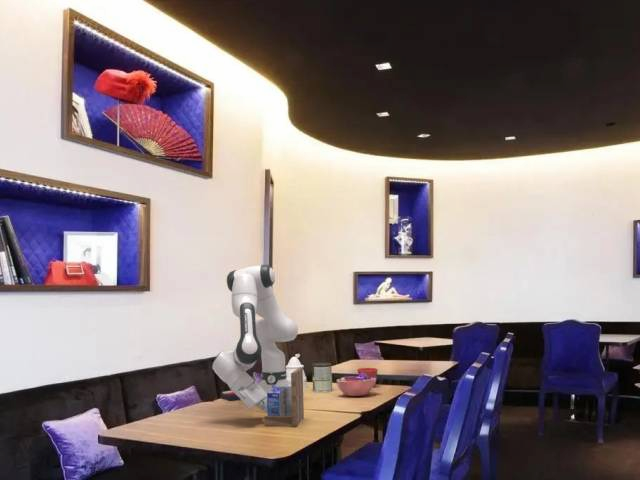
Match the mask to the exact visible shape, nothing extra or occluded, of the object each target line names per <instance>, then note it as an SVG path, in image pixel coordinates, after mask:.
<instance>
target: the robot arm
mask: <svg viewBox="0 0 640 480" xmlns="http://www.w3.org/2000/svg"><path fill="white" fill-rule="evenodd" d="M275 279H276V276H275V271H274V268H273V267H272V266H271V265H269V264H261V265H252V266H247V267H243V268H239V269H234V270H232V271H230V272H229V273H227V275H226V285H227V288H228V290H229V292H230V293H231V307H232V313H233V315H234V316H236V317H237V318H239V326H240V327H239V332H240V333H239V334H240V336H239V340H238V342H237V345H236V347H235V348H234V349H231V350H226V351H221V352H219V353H218V354H217V355H216V357H215V358H214V359H213V362H212V364H211V366H212V367H211V368H212V370H213V371H214V373H215V374H216V375H217V376H218V377H219V378H220V380H221V381H222V382H224V383H225V384H227V386H228V387H229V389H230V391H233V392H234V393H235V394H236V395H237V396H238V397H240V399H241V400H240V401H242V403H243V404H244V405H245V407H247V408H248V409H250V410H253V409H254V408H256V407H257V408H258V409H260V410H261V411H263V412H264V413H265V414H266V413H267V393H268V392H270V391H271V387H272V386H271V385H273V384H274V385H275V387H279V386H289V383H288V381H287V379H286V378H287V373H286V355H285V353H284V352H283V351H282V350H280V349H279V348H278V347H277V344H276V343H286V342H290V341H294V340H295V339H296V338H297V336H298V333H299V327H298V324H297V322H296V321H295V320H293V319H291V318H290V317H288V316H287V315H286V314H285V313H284V312H283V310H281V308H280V306H279V305H278V304H279V303H278V301H277V298H276V296H275V293H274V289H273V285H274V284H275ZM256 315H257V316H258V317H261V318H260V319H256ZM260 357H261V368H262V369H261V373H260V375H261V381H260V382H259V383H258V382H257V379H256V378H255V377H253V376H251V375H249V374H248V373H247V371H248V370H250V369H252V368H253V367H254V366H255V364H256V363H257V360H259V359H260ZM273 387H274V386H273Z"/></svg>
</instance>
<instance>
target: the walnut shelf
mask: <svg viewBox="0 0 640 480" xmlns="http://www.w3.org/2000/svg"><path fill="white" fill-rule="evenodd" d="M303 371H304V367H302V368H298V369H297V370H295V371H294V372H292V373H291V395H292V416H267V415H265V416H264V427H292V428H297V427H298V426H299V425H300V423H301V422H302V421H301V420H303V419H304V418H305V415H304V414H305V409H304V389H303ZM297 425H298V426H297Z"/></svg>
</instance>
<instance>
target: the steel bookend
mask: <svg viewBox="0 0 640 480" xmlns="http://www.w3.org/2000/svg"><path fill="white" fill-rule="evenodd" d="M273 388H275V387H273ZM273 388H272V387H271V390H272V389H273ZM276 389H285V416H292V395H291V386H279V387H276Z"/></svg>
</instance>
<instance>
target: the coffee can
mask: <svg viewBox="0 0 640 480" xmlns="http://www.w3.org/2000/svg"><path fill="white" fill-rule="evenodd" d="M332 365H333V364H332V363H331V362H315V363H312V364H311V367H312V368H311V370H312V392H313V393H317V392H324V393H330V391H331V392H333V376H332V375H333V371H332V370H333V369H332Z"/></svg>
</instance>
